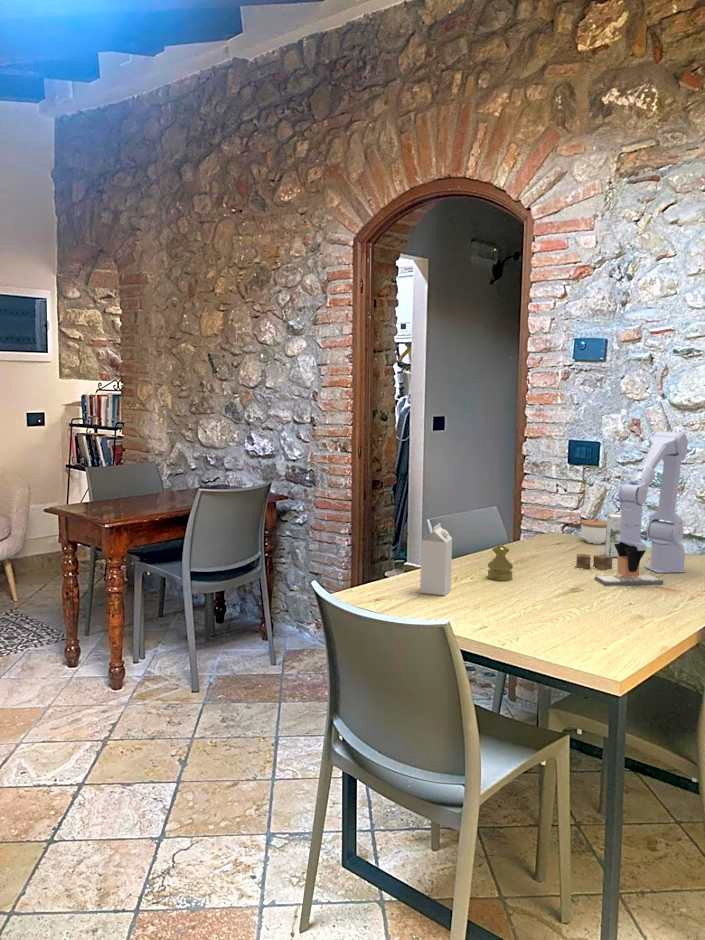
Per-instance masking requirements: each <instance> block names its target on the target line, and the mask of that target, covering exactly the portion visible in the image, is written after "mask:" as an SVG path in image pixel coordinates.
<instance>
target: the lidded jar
mask: <svg viewBox="0 0 705 940" xmlns="http://www.w3.org/2000/svg"><path fill="white" fill-rule="evenodd" d="M606 525H607V520H604V519H603V520H602V519H601V520H600V519H599V518H598V517H595V518H594V519H582V520H580V530H581V532H580V533H581V535H582V537H583V539H584V540H585V541H586V543H587V542H588V543H587V544H590V543H593V544H592V545H602V544H601V543H604V544H605V543H606Z"/></svg>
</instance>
